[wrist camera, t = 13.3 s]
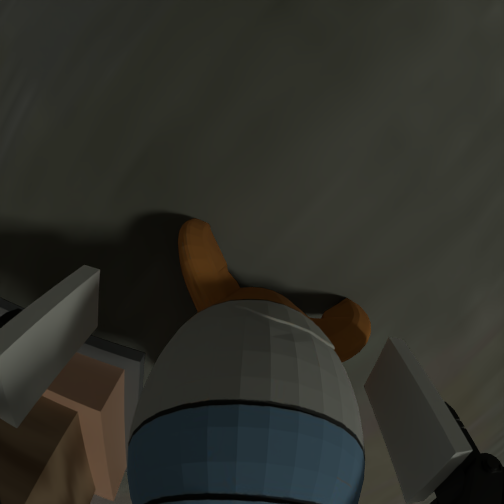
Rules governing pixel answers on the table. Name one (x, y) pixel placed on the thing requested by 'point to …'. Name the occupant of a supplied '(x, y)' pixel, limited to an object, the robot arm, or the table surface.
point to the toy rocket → (248, 397)
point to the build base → (100, 403)
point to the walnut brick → (45, 458)
